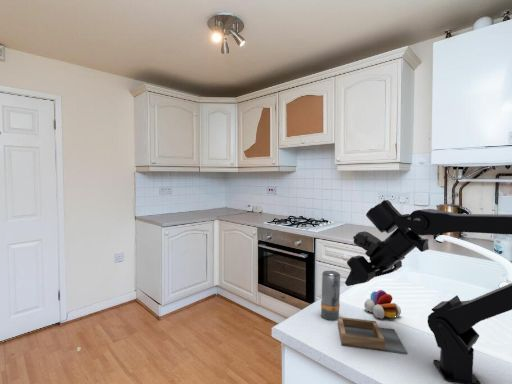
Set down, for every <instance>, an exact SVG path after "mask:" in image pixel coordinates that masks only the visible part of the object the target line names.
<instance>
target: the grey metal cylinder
mask: <svg viewBox="0 0 512 384" xmlns="http://www.w3.org/2000/svg"><path fill="white" fill-rule="evenodd" d="M321 275H322V276H321V301H320V317H321V318H322V319H324V320H326V321H331V322H335V321H338V317H340V297H341V296H340V294H341V293H340V292H341V274H340V272H337V271H334V270H324V271H322V274H321Z"/></svg>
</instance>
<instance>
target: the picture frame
mask: <svg viewBox="0 0 512 384" xmlns="http://www.w3.org/2000/svg"><path fill="white" fill-rule="evenodd" d="M337 326H338V333H339V339H340V344H341V346H343V347H351V348H359V349H366V350H374V351H381V352H389V353H394V354H395V353H396V354H402V355H403V354H404V355H408V352H407V349H406V347H405V345H404V344H403V342H402V339H400V337H399V335H398V333H397V330H395V328H387V327H379V324H378V322H377V321H376V320H370V319H369V320H368V319H359V318H351V317H350V318H349V317H345V316H344V317H342V316H339V317H338V320H337Z"/></svg>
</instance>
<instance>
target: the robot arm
mask: <svg viewBox="0 0 512 384" xmlns="http://www.w3.org/2000/svg"><path fill="white" fill-rule="evenodd" d="M365 216H366V217H367V219H368V220H369V222H371V224H373V225H374V227H375V228H376V229H378V231H379V232H380V233H387V234H390V235H389V236H387V238H385V239H384V240H381V239H379V237H376V236H375V235H373V234H371V233H370V232H369V231H366V230H365V231H364V230H363V231H359V232H357V233H356V234H355V235H354V236H353V237H352V238H353V244H354V245H356V246H358V247H360V248H361V249H363V250H365V255H366V257H369V261H368V260H367V259H366V257H365V256H364V255H355V256H352V257H350V258H349V259H348V260H347V261H346V265H347V266H348V267H349V268H350V272H349V273H348V276H347V278H346V280H345V282H344V284H345V286H347V287H350V286H356V285H360V284H365V283H367V282H370V281H371V280H373V279H374V278H377V277H381V276H384V275H388V274H391V273H393V272H395V271H396V272H397V271H398V270H399V269H401V268H402V267H403V265H402V261H404V259H406V256H407V255H408V254H409V253H411V251H414V249H416V248H417V249H418V250H419V251H420V252H421V253H423V252H426V251H429V249H430V247H429V239H428V238H423V237H421V236H431V235H432V236H433V235H439V234H440V235H441V234H448V233H473V234H475V233H476V234H493V235H495V234H496V235H512V214H502V213H501V214H500V213H499V214H497V213H496V214H494V213H491V214H489V213H487V214H486V213H481V214H480V213H476V214H475V213H473V214H472V213H467V214H466V213H456V212H451V211H448V210H447V211H446V210H441V209H434V208H423V209H415V210H413V211H412V212H411V213H406V214H405V213H404V214H401V212H400V211H398V210H397V208H396V207H395V206H393V204H392V203H391V201H390V200H388V199H385V200H384V199H383V201H381V202H380V203H377V204H376V205H375V206H374V207H371V208H370V209H368V211H367V212H366V214H365ZM431 311H432V312H431V313H429V315H428V316H427V326H428V328H429V330H430V331H431V332H432V334H433V336H434V339H435V342H436V346H437V347H438V348H439V350H440V351H439V356H440V357H439V359H433V361H432V363H433V364H434V366H435V367H436V369H437V370H438V371H439V373H440V374H441V376H442V377H443V379H444V380H445V381H447V382H451V383H459V384H460V383H461V384H482V383H481V381H480V380H479V379H478V377H477V376H476V374H474V373H473V371H474V370H473V369H474V352H475V350H474V347H473V346H474V345H475V344H476V343H477V342H478V340H479V337H480V334H479V333H478V332H477V331H476V330H475V328H473V327H474V326H475V325H477V324H478V323H480V322H481V321H484V320H487V319H490V318H494V317H496V316H498V315H501V314H505V313H506V312H509V311H512V282H511V283H507V284H506V285H503V286H501V287H499V288H496V289H493V290H492V291H490V292H487V293H485V294H482V295H480V296H478V297H475V298H472V299H468V300H461V299H460V297H459V295H455V296H454V297H452V298H451V299H449V300H445V301H444V300H443V301H440V302H439V303H438V304H437V305H435V306H434V307H433V308H431Z"/></svg>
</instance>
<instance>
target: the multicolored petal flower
mask: <svg viewBox="0 0 512 384" xmlns="http://www.w3.org/2000/svg"><path fill="white" fill-rule="evenodd" d="M392 301H393V296H392V295H391V294H389V293H387V292H386V291H385V290H382V289H378V290H377V291H376V290H374V291H372V292H371V293H370V298H368V299H366V300H365V301H364V305H363V306H364V309H365V310H366V311H367V312H368V311H369V312H368V313H371V312H373V315H374V317H375V318H377V319H379V318H380V319H379V320H381V319H384V318H385V317H386V318H390V319H392V318H398V317H400V316H401V314H402V308H401V307H400V306H399V305H398V304H397V303H395V302H392ZM395 316H396V317H395Z"/></svg>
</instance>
